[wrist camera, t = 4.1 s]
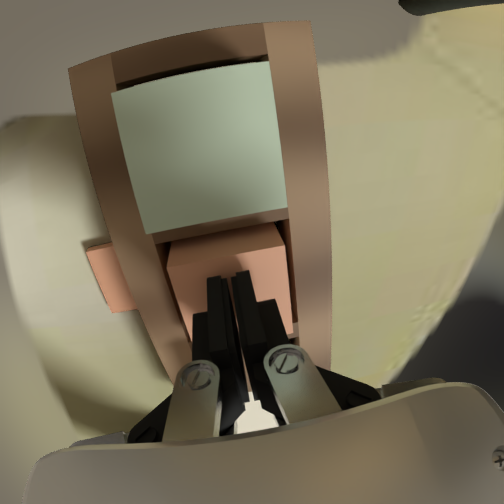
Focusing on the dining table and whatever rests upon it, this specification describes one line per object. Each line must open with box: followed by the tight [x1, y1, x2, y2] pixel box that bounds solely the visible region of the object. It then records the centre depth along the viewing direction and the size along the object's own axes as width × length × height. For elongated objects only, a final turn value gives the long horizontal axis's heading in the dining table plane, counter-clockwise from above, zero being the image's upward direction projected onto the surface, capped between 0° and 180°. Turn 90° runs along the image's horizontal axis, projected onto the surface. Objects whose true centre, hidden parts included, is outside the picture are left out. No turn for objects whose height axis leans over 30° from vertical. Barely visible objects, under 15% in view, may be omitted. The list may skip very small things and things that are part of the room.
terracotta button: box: [167, 222, 293, 341], centre depth 15 cm, size 4×4×4 cm
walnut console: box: [68, 21, 332, 385], centre depth 15 cm, size 21×9×3 cm, turn 8°
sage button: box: [111, 61, 288, 234], centre depth 11 cm, size 4×4×4 cm
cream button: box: [237, 348, 277, 434], centre depth 17 cm, size 4×4×4 cm
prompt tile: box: [86, 243, 138, 313], centre depth 16 cm, size 4×2×1 cm, turn 8°
